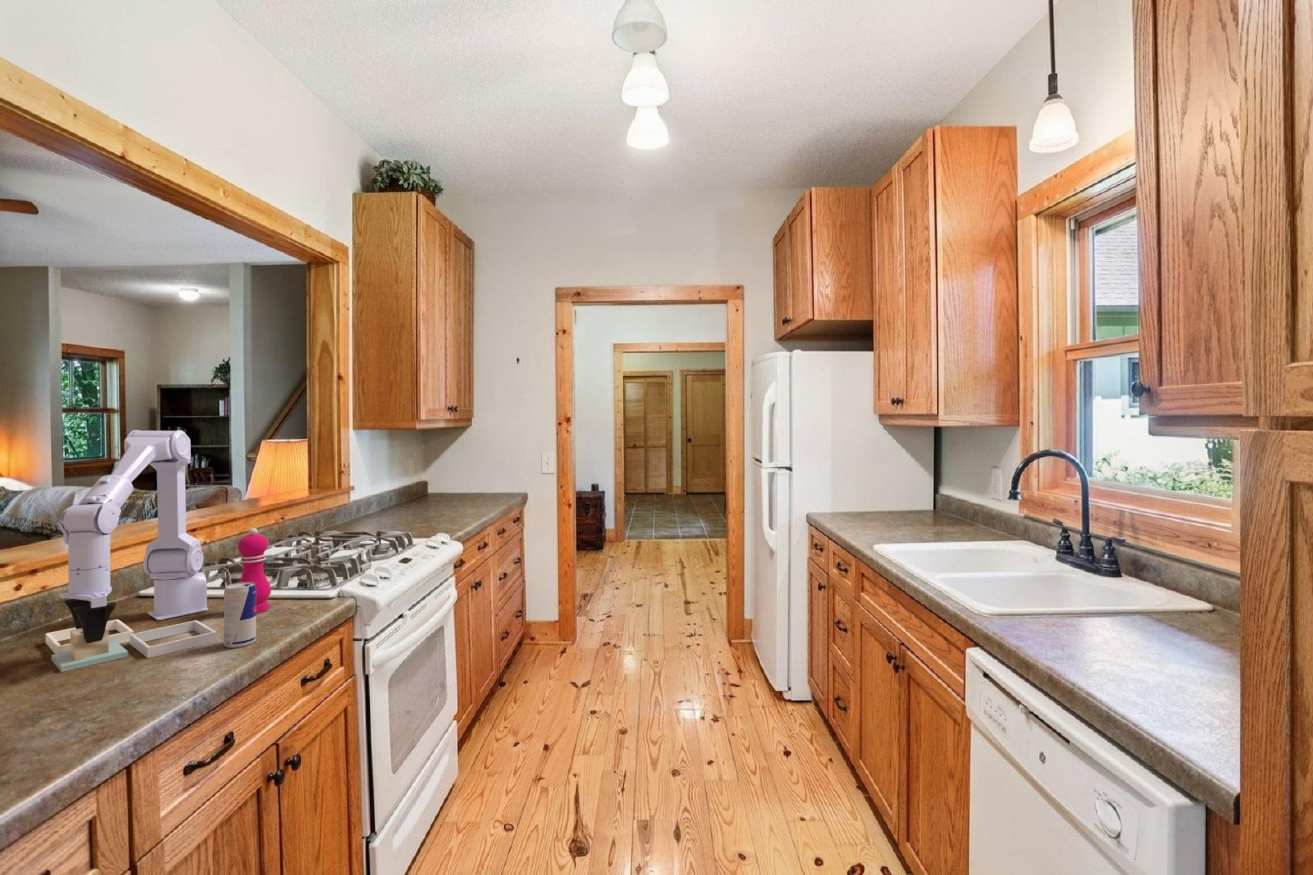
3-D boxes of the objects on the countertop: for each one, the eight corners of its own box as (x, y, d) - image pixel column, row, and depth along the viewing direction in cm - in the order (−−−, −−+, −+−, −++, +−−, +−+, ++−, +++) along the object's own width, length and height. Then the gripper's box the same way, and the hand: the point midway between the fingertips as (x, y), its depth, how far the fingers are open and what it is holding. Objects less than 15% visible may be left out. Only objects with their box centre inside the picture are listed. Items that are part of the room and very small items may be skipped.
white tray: (118, 628, 126) (118, 619, 126) (133, 640, 119) (133, 630, 119) (45, 643, 117) (45, 633, 117) (57, 657, 110) (57, 646, 110)
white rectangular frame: (196, 629, 126) (196, 620, 126) (216, 641, 119) (216, 631, 119) (130, 644, 117) (130, 634, 117) (147, 658, 110) (147, 647, 110)
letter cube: (102, 647, 113) (102, 623, 113) (108, 652, 110) (108, 628, 110) (70, 654, 109) (70, 629, 109) (75, 659, 107) (75, 635, 107)
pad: (115, 646, 116) (115, 641, 116) (127, 656, 111) (127, 651, 111) (51, 660, 109) (51, 654, 109) (61, 672, 104) (61, 666, 104)
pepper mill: (236, 617, 134) (236, 531, 134) (233, 610, 140) (233, 527, 139) (273, 611, 139) (273, 528, 139) (268, 604, 144) (268, 524, 144)
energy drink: (262, 640, 120) (262, 583, 120) (236, 649, 115) (236, 589, 115) (244, 637, 122) (244, 580, 122) (217, 646, 117) (217, 587, 117)
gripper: (51, 565, 111) (52, 635, 111) (68, 577, 102) (68, 653, 102) (102, 558, 116) (102, 625, 117) (121, 569, 108) (121, 641, 108)
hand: (89, 637), depth 110 cm, fingers open, 6 cm apart
